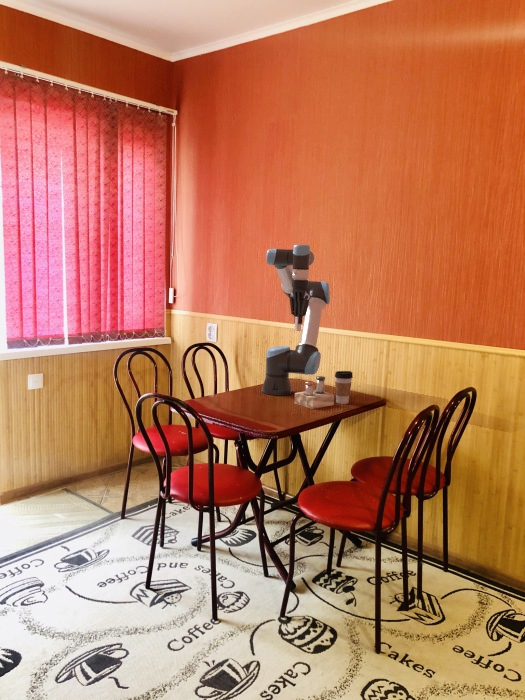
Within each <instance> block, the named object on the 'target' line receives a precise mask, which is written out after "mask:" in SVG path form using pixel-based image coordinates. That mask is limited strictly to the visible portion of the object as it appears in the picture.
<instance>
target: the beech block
mask: <svg viewBox="0 0 525 700" xmlns="http://www.w3.org/2000/svg"><path fill="white" fill-rule="evenodd" d="M293 403H294V404H295V405H298V406H302V407H304V408H308V409H311V410H314V409H320V408H326V407H329V406H334V405H335V394H333V393H330V392H326V391H324V394H317V393H316V389H313V396H307V395H305V390H304V391H299V392H294V402H293Z"/></svg>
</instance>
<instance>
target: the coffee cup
mask: <svg viewBox="0 0 525 700" xmlns="http://www.w3.org/2000/svg"><path fill="white" fill-rule="evenodd" d="M334 377H335V380H334V381H335V382H334V383H335V385H334V387H335V402H336V404H340V405H341V404H342V405H343V404H344V405H346V404H349V402H350V401H349V400H350V393H351V387H352V383H353V382H352V379H353V372H352V371H351V370H338V371H335V374H334Z"/></svg>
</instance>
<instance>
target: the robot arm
mask: <svg viewBox="0 0 525 700" xmlns="http://www.w3.org/2000/svg"><path fill="white" fill-rule="evenodd" d="M265 260H266V264H267V265H270V266H274V268H275V271H276V273H277V276H278V278H279V280H280V282H281V283H280V285H281V290H282V292H283V293H284V295H286V296H287V297H288V298H289V305H290V306H289V307H290V313H291V314H290V315H292V316H293V317H294V320H293V322H294V331H295V332H300V331H301V334H300V340H299V343H298V344H297V345H296V346H295V349H291V347H290V346H287V345H284V346H283V345H281V346H273V347H269V348H268V349H267V350H266V357H265V358H266V359H265V360H266V361H265V378H264V382H263V384H262V386H261V392H262V394H266V395H271V396H287V395H291V394H292V390H293V389H292V386H291V382H290V378H289V377H290V374H298V375H307V376H308V375H309V376H311V375H312V376H313V375H316V374H317V372H318V371H319V369H320V365H321V357H322V353H321V352H319V348H318V347H317V343H318V337H319V332H320V326H321V319H322V313H323V310H324V309H325V308H326V306H327V305H328V304H330V302H331V300H330V299H331V294H330V293H331V291H330V284H329V282H327V281H322V280H320V281H316V280H314V281H313V280H309V279H310V278H309V277H310V276H309V275H310V266H311V265H312V264H314V261H315V255H314V252H312V251H311V247H310V245H309V244H294V245H293V249H292V248H291V249H290V248H289V249H288V248H287V249H286V248H285V249H284V248H269V249H268V250H267V251H266V258H265Z"/></svg>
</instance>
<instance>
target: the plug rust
mask: <svg viewBox="0 0 525 700" xmlns="http://www.w3.org/2000/svg"><path fill="white" fill-rule="evenodd" d="M304 384H305V390H304V391H305V395H307V396H313V390H314V386H315V381H311V380H306V381H305V382H304Z"/></svg>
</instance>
